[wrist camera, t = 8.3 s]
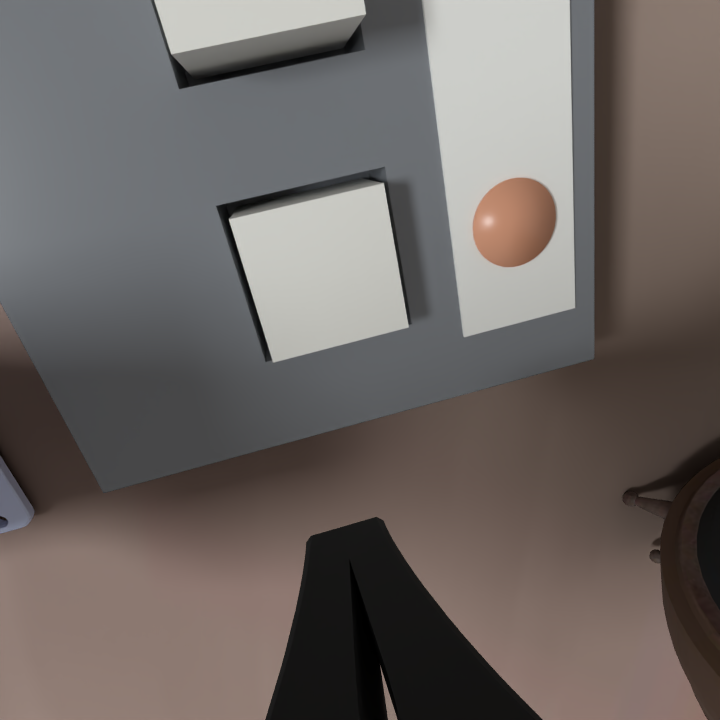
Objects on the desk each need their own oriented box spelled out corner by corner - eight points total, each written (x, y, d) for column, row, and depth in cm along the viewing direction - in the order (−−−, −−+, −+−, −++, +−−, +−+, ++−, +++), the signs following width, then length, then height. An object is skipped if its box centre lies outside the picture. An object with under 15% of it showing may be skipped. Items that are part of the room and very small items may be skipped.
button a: (272, 324, 16) (273, 362, 13) (236, 206, 14) (229, 219, 11) (383, 296, 16) (408, 327, 13) (360, 178, 15) (383, 183, 12)
